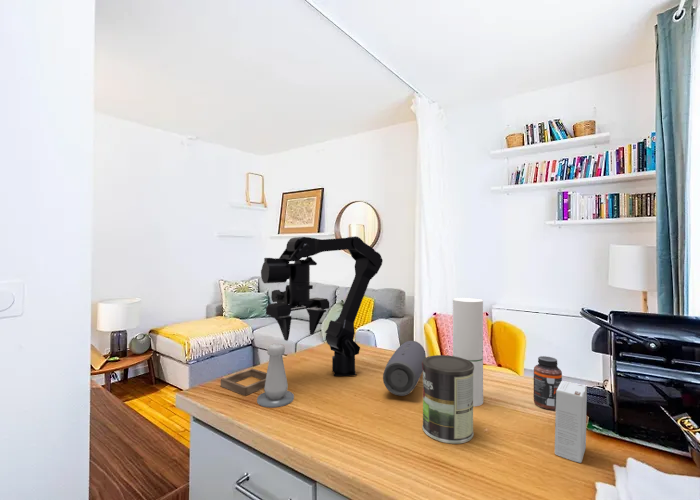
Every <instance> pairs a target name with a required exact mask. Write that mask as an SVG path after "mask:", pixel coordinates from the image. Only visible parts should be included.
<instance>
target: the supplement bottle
mask: <svg viewBox="0 0 700 500" xmlns="http://www.w3.org/2000/svg"><path fill="white" fill-rule="evenodd" d="M537 362H538V363H537V364H536V365H534V367H533V402H534V404H535V405H536V406H537V407H540V408H542V409H546V410H550V411H556V390H557V389H558V387H559V385H560V383H561V381H563V372H562V370H561V369H560V368H559V367H558V364H559V363H558V359H557V358H555V357H553V356H552V357H551V356H546V355H545V356H544V355H543V356H542V355H540V356H538V357H537Z"/></svg>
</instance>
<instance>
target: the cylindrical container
mask: <svg viewBox="0 0 700 500" xmlns="http://www.w3.org/2000/svg"><path fill="white" fill-rule="evenodd" d="M452 356H455V357H460V358H463V359H466V360H468V361H470V362H472V363H473V364H474V370H473V407H479V406H481V405H483V404H484V300H483V299H480V298H474V297H455V298H452Z"/></svg>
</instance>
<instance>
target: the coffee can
mask: <svg viewBox="0 0 700 500" xmlns="http://www.w3.org/2000/svg"><path fill="white" fill-rule="evenodd" d="M422 364H423V371H422V430H423V432H424V433H425V435H426V436H428V437H429V438H431V439H433V440H435V441H437V442H439V443H444V444H449V445H451V444H452V445H459V444H465V443H467V442H469V441H471V440H472V439H473V438H474V406H473V370H474V364H473V363H472V362H470V361H468V360H466V359H463V358H460V357H455V356H453V355H446V354H439V355H437V354H436V355H430V356H426V358H424V359H423V361H422Z"/></svg>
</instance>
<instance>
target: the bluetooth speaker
mask: <svg viewBox="0 0 700 500" xmlns="http://www.w3.org/2000/svg"><path fill="white" fill-rule="evenodd" d="M426 355H427V354H426V351H425V348H424V346H423V345H422V344H421V343H420V342H418V341H416V340H407V341H405V342H403V343H402V344H401V345H400V346H399V347H398V348H397V349H396V350H395V351H394V353H393V354H391V356H390V358H389V360H388V362H387V364H386V366H385V368H384V369H383V375H382V380H383V384H384V386H385V388H386V389H387V391H389V393H391V394H392V395H395V396H401V397H402V396H407V395H409V394H411V393H412V391H413V390H414V389H415V388H416V386H417V385H418V382H419V380H420V379H421V376H422V375H423V364H422V361H423V359H424V358H426V357H427V356H426Z"/></svg>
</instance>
